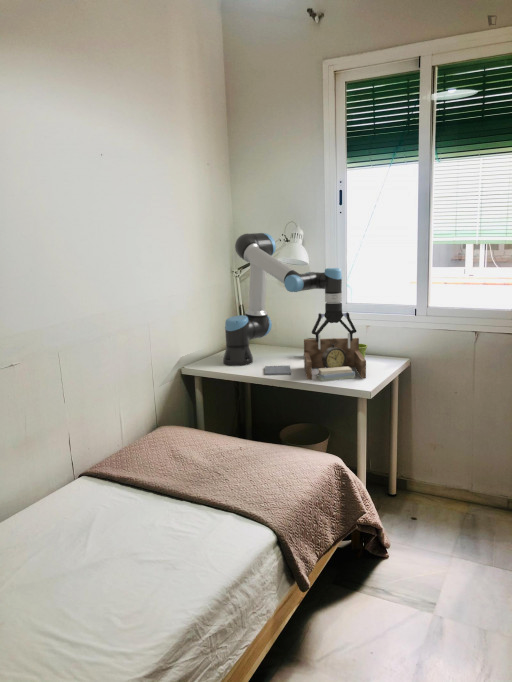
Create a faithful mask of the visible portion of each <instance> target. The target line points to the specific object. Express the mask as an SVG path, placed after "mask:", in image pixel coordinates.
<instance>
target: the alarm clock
mask: <svg viewBox="0 0 512 682" xmlns="http://www.w3.org/2000/svg"><path fill="white" fill-rule="evenodd" d="M332 338H333V337H332ZM332 338H330V339H331V340H332ZM333 339H335V338H333ZM335 340H336V339H335ZM330 343H331V341H330ZM335 344H336V343H335ZM335 344H331V345H332V346H333V347H330V348H328V349H327V350H326V351H325V352H324V353H323V356H322V363H323V365H324V367H325V368H334V367H344V366H345V363H346V354H345V352H344V351H343V350H342V349H340V348H336V347H334V345H335Z"/></svg>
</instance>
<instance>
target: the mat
mask: <svg viewBox="0 0 512 682" xmlns="http://www.w3.org/2000/svg"><path fill="white" fill-rule="evenodd" d="M291 374H292V373H291V365H265V366H264V376H282V375H283V376H285V375H291Z"/></svg>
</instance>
